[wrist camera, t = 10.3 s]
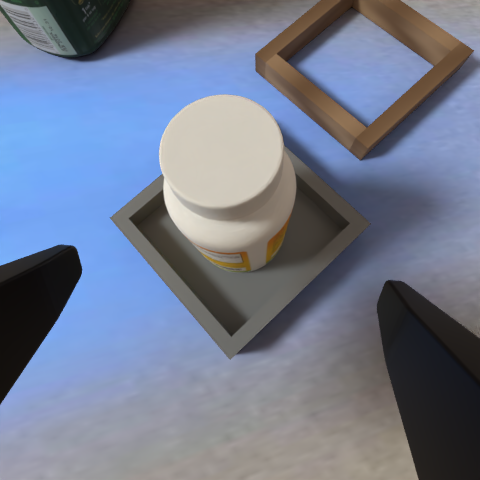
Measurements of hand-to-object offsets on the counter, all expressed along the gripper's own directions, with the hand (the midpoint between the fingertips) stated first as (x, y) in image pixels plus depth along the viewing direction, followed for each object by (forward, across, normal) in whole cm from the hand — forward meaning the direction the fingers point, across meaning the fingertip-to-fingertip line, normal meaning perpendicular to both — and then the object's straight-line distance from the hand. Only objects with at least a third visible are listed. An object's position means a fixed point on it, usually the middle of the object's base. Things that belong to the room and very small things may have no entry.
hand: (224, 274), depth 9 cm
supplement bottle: (+10, 0, +4) cm, 10 cm away
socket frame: (+19, -6, -5) cm, 20 cm away
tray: (+10, +1, +4) cm, 11 cm away
